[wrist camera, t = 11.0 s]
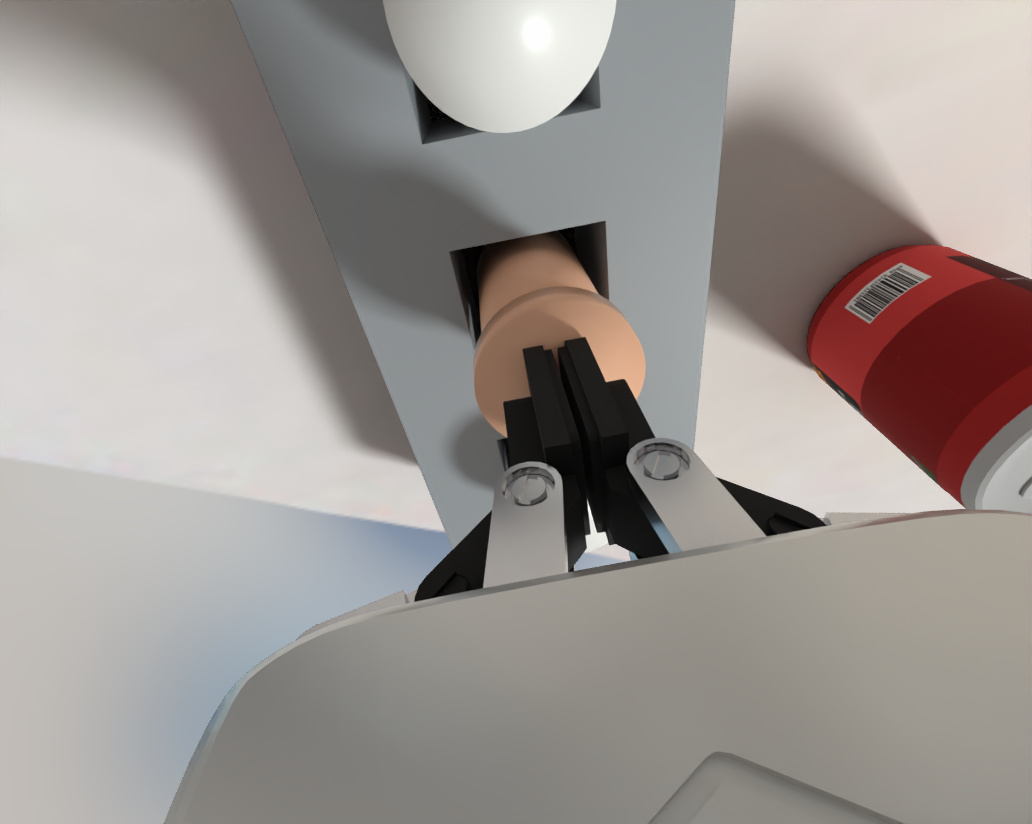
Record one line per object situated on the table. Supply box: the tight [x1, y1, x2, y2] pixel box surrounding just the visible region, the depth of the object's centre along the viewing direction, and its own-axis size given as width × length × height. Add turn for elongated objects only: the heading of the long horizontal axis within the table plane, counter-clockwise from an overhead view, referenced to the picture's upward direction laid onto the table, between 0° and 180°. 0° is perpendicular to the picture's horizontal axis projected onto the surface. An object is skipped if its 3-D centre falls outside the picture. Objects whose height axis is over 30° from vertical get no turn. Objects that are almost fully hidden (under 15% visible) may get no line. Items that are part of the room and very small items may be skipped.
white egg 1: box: [383, 0, 616, 133], centre depth 12 cm, size 5×5×8 cm
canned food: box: [807, 245, 1032, 513], centre depth 21 cm, size 8×8×11 cm
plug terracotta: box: [473, 230, 646, 437], centre depth 16 cm, size 5×5×8 cm
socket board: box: [230, 0, 735, 549], centre depth 19 cm, size 26×12×6 cm, turn 9°
